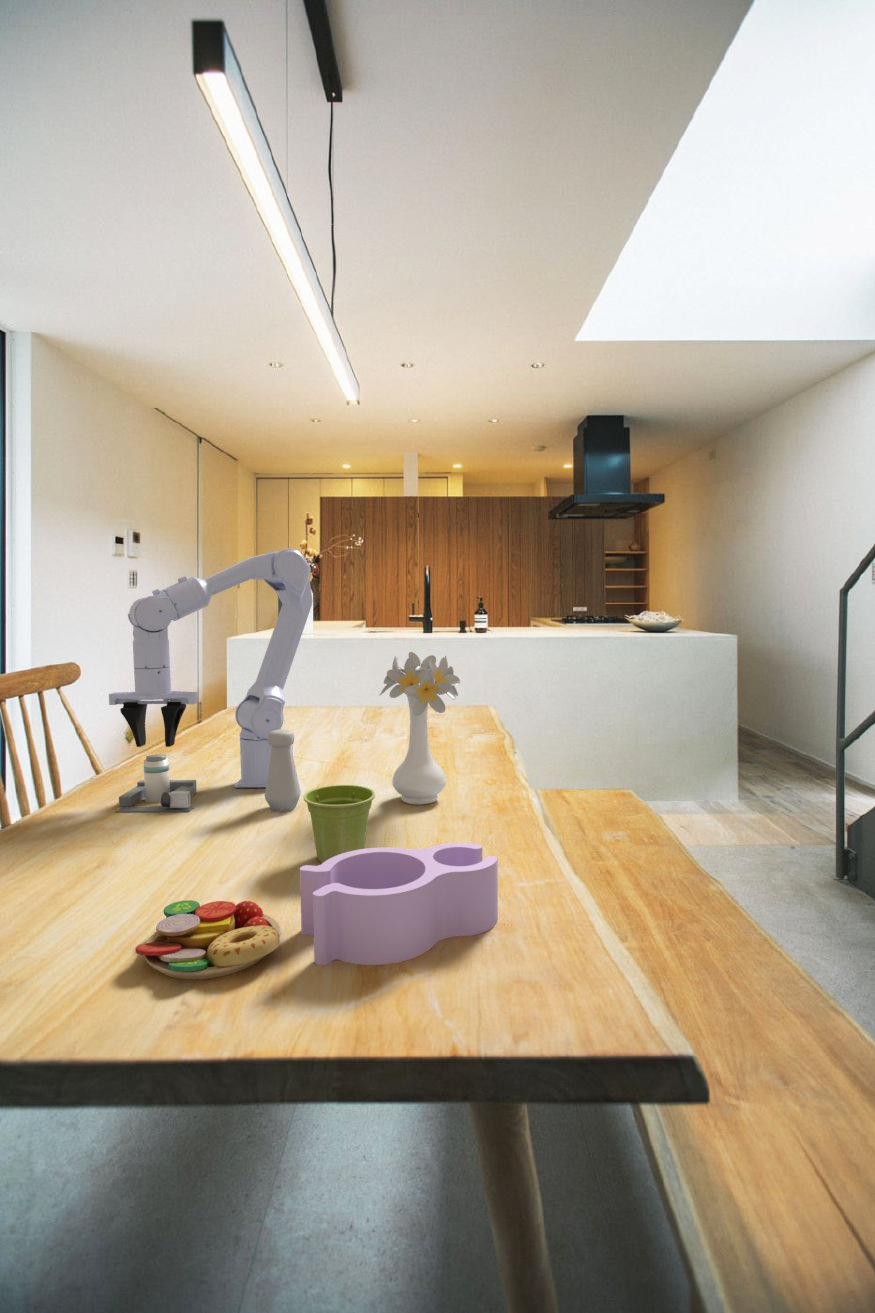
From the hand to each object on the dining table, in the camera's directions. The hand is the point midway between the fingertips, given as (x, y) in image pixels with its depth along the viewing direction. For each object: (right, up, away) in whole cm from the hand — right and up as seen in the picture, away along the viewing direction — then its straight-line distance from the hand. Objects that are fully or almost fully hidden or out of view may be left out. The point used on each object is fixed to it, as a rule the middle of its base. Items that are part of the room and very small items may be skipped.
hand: (155, 745), depth 119 cm
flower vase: (+46, -9, -2) cm, 47 cm away
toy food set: (+26, -14, -51) cm, 59 cm away
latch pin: (+6, -10, -5) cm, 13 cm away
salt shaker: (+23, -10, -5) cm, 26 cm away
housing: (+2, -9, -1) cm, 10 cm away
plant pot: (+36, -12, -27) cm, 47 cm away
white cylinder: (0, -9, +1) cm, 9 cm away
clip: (+45, -13, -47) cm, 67 cm away
